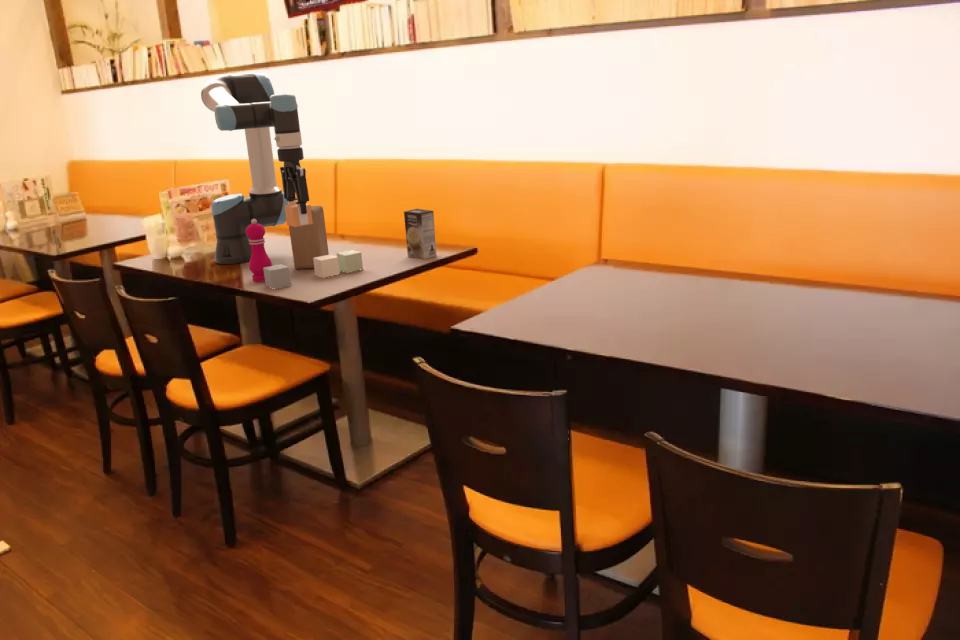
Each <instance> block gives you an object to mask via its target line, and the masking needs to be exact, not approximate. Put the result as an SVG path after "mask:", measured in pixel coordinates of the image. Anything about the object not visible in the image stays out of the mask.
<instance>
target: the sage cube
mask: <svg viewBox="0 0 960 640" xmlns="http://www.w3.org/2000/svg"><path fill="white" fill-rule="evenodd" d="M336 257H338V261H339V270H341V271H340V272H342V271H344V272H343V273H345V272H347V273H346V274H349V273H348V272H351V271H355V272H357V271H356V270H360V269H363V270H364V265H363V257H362V252H361V251H357V250H354V249H351V250H346V251H340V252H336ZM360 271H361V270H360ZM351 273H352V272H351Z"/></svg>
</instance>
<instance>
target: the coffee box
mask: <svg viewBox="0 0 960 640" xmlns="http://www.w3.org/2000/svg"><path fill="white" fill-rule="evenodd" d="M434 213H435V212H434V210H429V209H421V208H414V209H410V210H406V211H403V215H404V218H403V219H404V229H405V241H406V249H407V250H406V252H407V253H406V254H407V257H410V258H416V259H419V260H420V259H421V260H427V259H430V258H433V257H437V244H436V229H435V227H436V226H435V217H434V216H435V214H434Z"/></svg>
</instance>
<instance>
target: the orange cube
mask: <svg viewBox="0 0 960 640" xmlns="http://www.w3.org/2000/svg"><path fill="white" fill-rule="evenodd" d="M306 206H307V214H308V221H309V224H313V221H312V213H311V206H312V205H311V204H309V203H306ZM284 207H285V214H286V222H285V223H286V225H287V226H288V227H289V226H293V227H298V226H304V225H300V223H299V216H298V209H297V204H292V205H286V206H284ZM309 224H305V225H309Z"/></svg>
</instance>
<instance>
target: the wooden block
mask: <svg viewBox="0 0 960 640" xmlns="http://www.w3.org/2000/svg"><path fill="white" fill-rule="evenodd" d="M310 206H311V213H312V221H313V224H309V225H304V226H298V227H293V226H289V225H288V228H289V229H288V230H289V238H290V244H291V250H292V251H291V253H292V258H293V265H294V266H293V267H294V269H297V270H302V269H304V268H310V269H314V261H313V258H315V257H320V256H325V255H330V254H329V245H328V237H327V228H326V223H325V222H326V221H325V212H324V207H323V206H321V205H310ZM304 270H305V269H304Z"/></svg>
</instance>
